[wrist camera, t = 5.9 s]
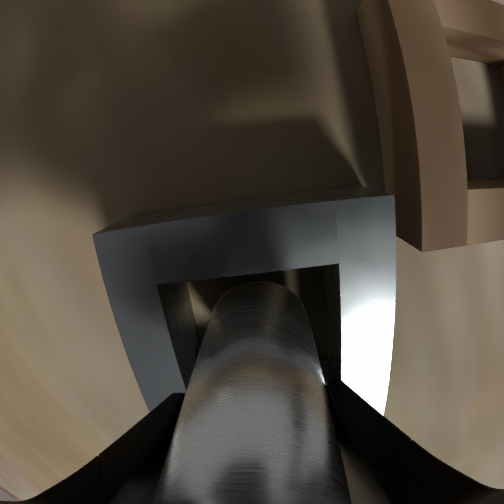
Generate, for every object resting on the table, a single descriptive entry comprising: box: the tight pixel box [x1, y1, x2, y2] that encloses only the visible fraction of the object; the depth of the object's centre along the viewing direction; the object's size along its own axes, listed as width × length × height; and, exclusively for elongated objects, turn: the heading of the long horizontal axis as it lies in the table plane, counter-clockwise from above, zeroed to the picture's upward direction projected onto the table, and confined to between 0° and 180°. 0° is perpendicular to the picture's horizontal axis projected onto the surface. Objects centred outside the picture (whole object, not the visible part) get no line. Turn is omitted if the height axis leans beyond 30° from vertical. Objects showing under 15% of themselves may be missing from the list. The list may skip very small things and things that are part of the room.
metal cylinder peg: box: [152, 281, 352, 504], centre depth 9 cm, size 4×4×9 cm
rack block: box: [92, 186, 396, 416], centre depth 13 cm, size 10×10×4 cm
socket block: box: [356, 0, 504, 252], centre depth 10 cm, size 10×10×4 cm
